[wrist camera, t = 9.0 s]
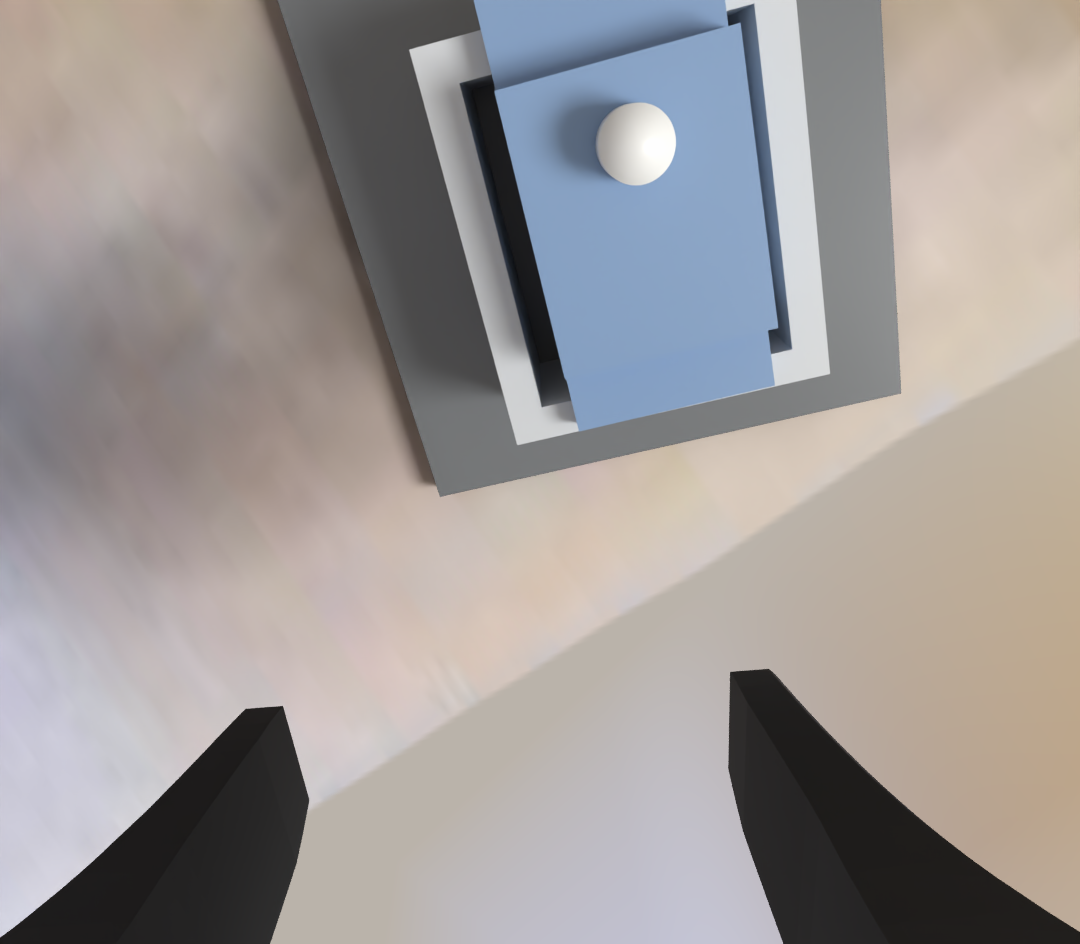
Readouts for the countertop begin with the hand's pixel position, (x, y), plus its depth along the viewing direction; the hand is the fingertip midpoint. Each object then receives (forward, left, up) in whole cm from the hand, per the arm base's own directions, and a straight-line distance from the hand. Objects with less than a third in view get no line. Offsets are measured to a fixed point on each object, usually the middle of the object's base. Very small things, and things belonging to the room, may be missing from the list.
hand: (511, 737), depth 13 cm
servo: (+4, +7, -9) cm, 12 cm away
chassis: (+4, +6, -9) cm, 12 cm away
